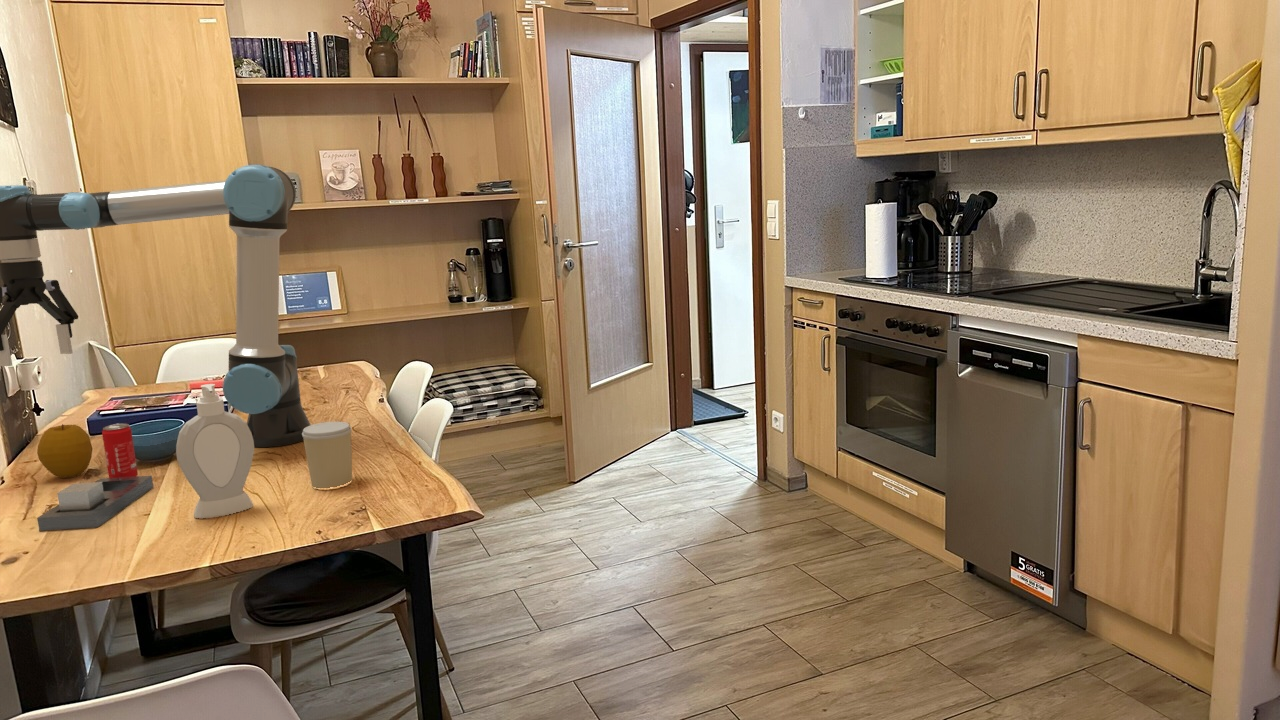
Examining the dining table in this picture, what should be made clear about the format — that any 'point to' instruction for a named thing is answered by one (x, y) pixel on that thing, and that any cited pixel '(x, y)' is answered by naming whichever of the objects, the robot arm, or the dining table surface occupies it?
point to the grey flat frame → (93, 502)
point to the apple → (65, 450)
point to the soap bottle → (216, 457)
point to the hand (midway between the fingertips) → (37, 359)
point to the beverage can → (119, 451)
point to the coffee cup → (328, 453)
